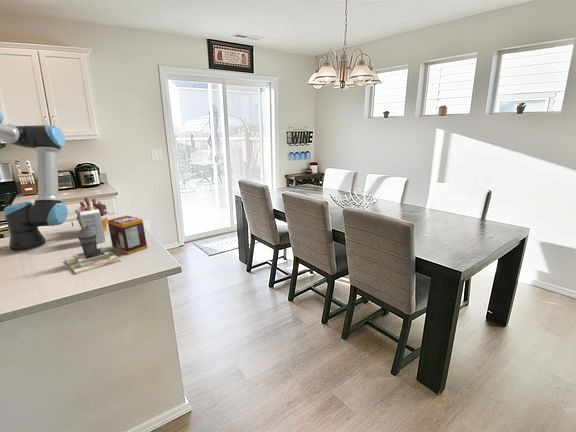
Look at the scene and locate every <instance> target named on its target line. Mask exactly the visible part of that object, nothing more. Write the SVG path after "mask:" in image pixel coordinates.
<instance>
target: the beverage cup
mask: <svg viewBox="0 0 576 432" xmlns="http://www.w3.org/2000/svg"><path fill="white" fill-rule="evenodd" d="M81 221H82V225H83V228H81V229H80V230H79V231H78V233H77V239H78V242H79V243H80V245H81V248H82V251H83V252H84V255H85V257H86V259H89V258H93V257H97V256H98V253H97V249H98V245H97V244H98V243H96V233H95V231H94V230H93V229H92V228H89V227H85V226H84V223H83V220H82V218H81Z"/></svg>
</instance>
